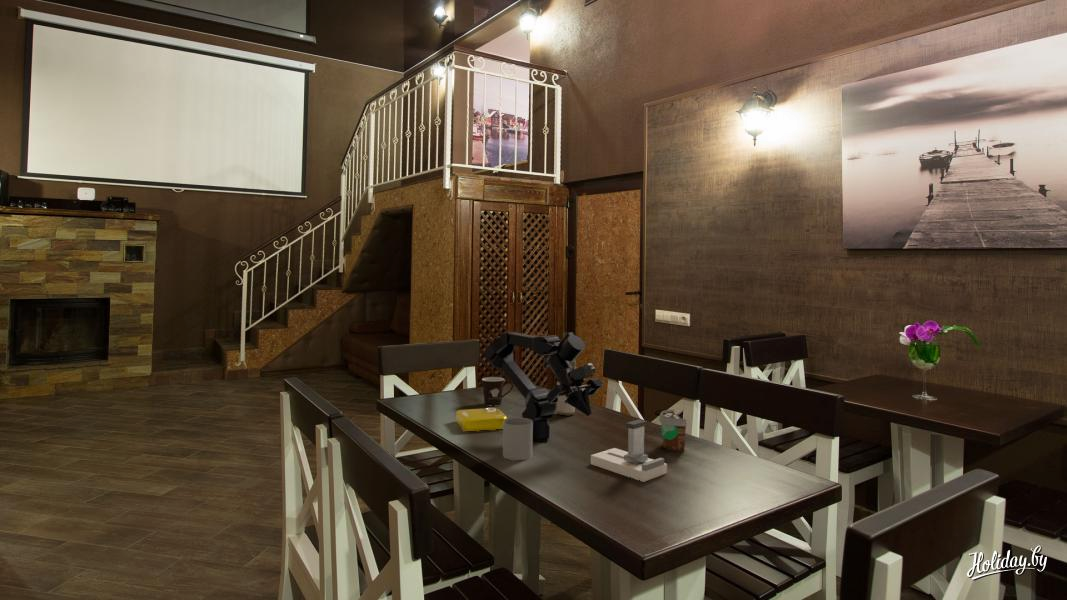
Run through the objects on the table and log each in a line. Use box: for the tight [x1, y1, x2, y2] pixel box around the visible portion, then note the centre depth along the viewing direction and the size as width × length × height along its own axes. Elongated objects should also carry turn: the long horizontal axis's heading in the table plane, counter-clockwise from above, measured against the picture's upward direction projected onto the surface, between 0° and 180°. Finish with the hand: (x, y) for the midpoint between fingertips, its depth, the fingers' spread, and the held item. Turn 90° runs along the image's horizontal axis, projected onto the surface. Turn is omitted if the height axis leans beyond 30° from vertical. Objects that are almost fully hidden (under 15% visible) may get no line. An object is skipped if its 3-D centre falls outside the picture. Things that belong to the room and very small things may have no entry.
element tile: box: [455, 407, 508, 432], centre depth 203 cm, size 15×15×5 cm
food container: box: [658, 409, 687, 452], centre depth 180 cm, size 12×6×10 cm, turn 5°
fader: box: [624, 418, 649, 464], centre depth 158 cm, size 4×6×10 cm
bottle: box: [556, 332, 577, 417], centre depth 218 cm, size 7×7×30 cm
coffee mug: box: [481, 376, 514, 407], centre depth 232 cm, size 12×9×10 cm
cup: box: [502, 417, 533, 461], centre depth 170 cm, size 8×8×10 cm
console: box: [590, 447, 668, 483], centre depth 160 cm, size 18×10×4 cm, turn 42°
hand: (589, 415), depth 170 cm, fingers closed
